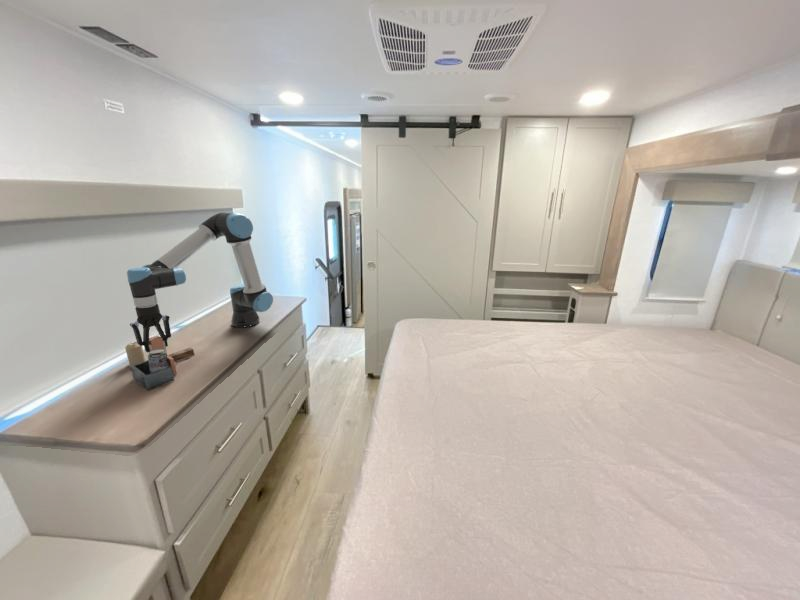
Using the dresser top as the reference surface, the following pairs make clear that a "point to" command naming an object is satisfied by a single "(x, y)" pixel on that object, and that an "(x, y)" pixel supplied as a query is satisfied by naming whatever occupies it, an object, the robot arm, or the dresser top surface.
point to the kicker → (158, 344)
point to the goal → (151, 375)
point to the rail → (182, 354)
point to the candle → (135, 353)
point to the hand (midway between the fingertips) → (158, 355)
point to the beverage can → (157, 360)
